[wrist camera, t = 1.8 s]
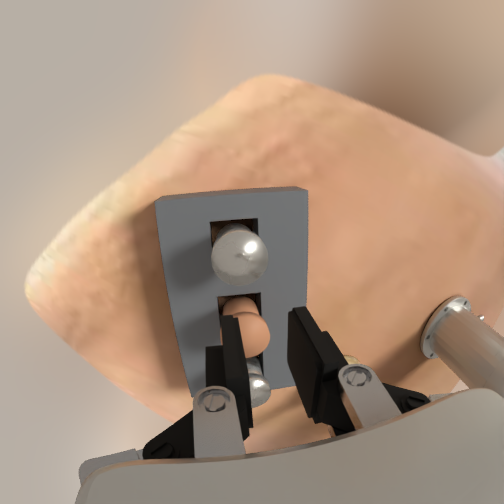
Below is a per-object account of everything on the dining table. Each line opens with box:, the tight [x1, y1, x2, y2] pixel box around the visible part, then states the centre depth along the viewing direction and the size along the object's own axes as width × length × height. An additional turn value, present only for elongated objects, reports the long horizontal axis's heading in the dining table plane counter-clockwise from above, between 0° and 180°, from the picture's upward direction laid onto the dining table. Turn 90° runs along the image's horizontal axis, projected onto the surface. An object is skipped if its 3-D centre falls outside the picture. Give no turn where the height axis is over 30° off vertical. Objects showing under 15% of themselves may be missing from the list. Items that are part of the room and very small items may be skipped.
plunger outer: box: [211, 223, 268, 286], centre depth 24 cm, size 4×4×5 cm
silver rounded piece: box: [246, 356, 271, 408], centre depth 29 cm, size 4×4×5 cm
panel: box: [155, 187, 308, 397], centre depth 30 cm, size 14×24×4 cm, turn 3°
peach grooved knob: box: [220, 296, 270, 358], centre depth 27 cm, size 4×4×5 cm
